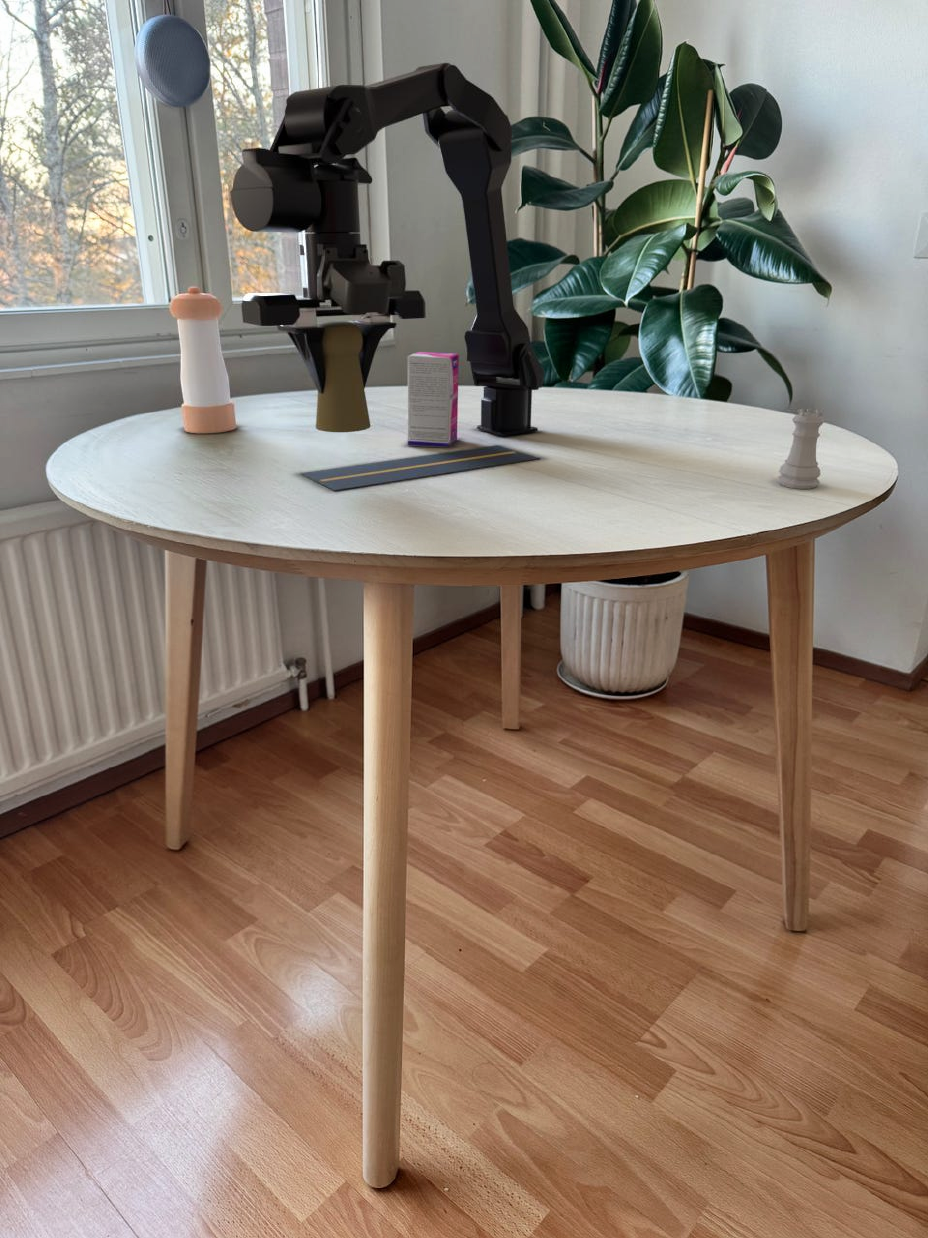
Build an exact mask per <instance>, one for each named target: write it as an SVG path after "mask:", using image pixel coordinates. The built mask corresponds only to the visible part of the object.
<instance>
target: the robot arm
mask: <svg viewBox="0 0 928 1238" xmlns="http://www.w3.org/2000/svg"><path fill="white" fill-rule="evenodd" d="M285 103H286V105H285V109H284V116H283V118H282V120H281V122H280V124H279V127H278V129H277V132H276V134H275V136H274V138H273V141H272V143H271V145H270V148H263V147H251V148H243V149H242V151H241V156H242V157H241V158H242V164H241V165H240V167H239V168H238V169H237V170H236V173H235V174H234V177H233V181H232V188H231V190H230V191H229V192H230V193H229V194H230V202H231V207H232V210H233V213H234V216H235V217H236V219H237V221H238V222H239V224H240V225H241V226H242V228H244V229H245V230H246V231H250V232H253V233H254V232H255V233H296V234H297V233H298V234H299V233H302V235H303V244H299V256H304V261H305V274H306V275H305V276H306V287H304V286H303V287H302V297H303V298H297V296H296V294H294V293H283V292H264V293H263V292H262V293H246V294H245V296H244V297H243V299H242V301H241V305H240V308H241V317H242V323H243V324H248V325H254V326H259V327H276V328H277V331H281V332H286V334H287V335H288V337H289V339H290V340H291V342H292V344H293V345H294V347H295V349H296V350H297V352H298V353H299V355H300V357H301V359H302V361H303V364H304V365H305V368H306V369H307V371H308V373H309V376H310V377H311V380H312V382H313V384H314V386H315V388H316V390H317V393H318V392H319V393H322V394H323V392H324V387H325V381H326V377H325V368H324V360H323V351H322V338H323V334H324V330H325V327H319V326H318V320H317V319H318V318H319V317H320V318H321V317H340V316H341V317H342V316H355V320H348V322H350V323H354V324H356V325H357V326H358V327H359V328H360V330H361V332H362V336H363V344H362V349H361V350H360V352H359V354H358V356H359V362H360V368H361V373H362V379H363V385H364V389H365V388H366V385H367V382H368V378H369V374H370V371H371V368H372V365H373V361H374V357H375V354H376V351H377V349H378V347H379V345H380V341H381V339H383V337H384V336H385V335H386V333H388V331H389V330H391V329H396V327H397V325H398V324H397V322H393V321H391V316H397V317H398V318H399V319H400V320H414V319H415V320H416V319H425V318H426V317H427V315H426V301H425V298H424V296H423V295H422V293H421V291H420V290H417V289H406V288H407V287H406V286H407V277H406V267H405V266H406V265H405V264H403V262H401V261H400V260H383V261H381V263H380V264H378V265H375V264H372V263H371V261H370V259H369V258H370V257H369V249H368V244H367V243H362V242H361V221H360V220H361V219H360V202H359V201H360V199H359V186H360V185H371V184H372V183H373V177H372V175H371V174H370V173H369V172H368V170H366V169H365V168H364V167H363V166H362V165H361V163H360V161H359V160H358V158H357V157H346V156H349V155H356V154H358V153H359V152H361V151H362V150H363V149H365V148H366V147H367V146H369V145H370V144H372V143H373V142H374V141H375V140H376V137H377V135H378V133H379V132H380V131H381V130H383V129H384V128H386V127H390V126H392V125H395V124H397V123H400V122H403V121H406V120H408V119H411V118H414V117H417V116H419V115H422V120H423V126H424V127H423V128H424V132H425V134H426V135H427V136H428V137H429V138H430V139H431V141H432V142H433V143H434V144H435V145H436V146H437V148H438V149H439V151H440V156H441V160H442V165H443V168H444V171H445V174H446V176H447V177H448V178H449V180H450V181H451V183H452V184H453V186H454V187H455V188H456V189H457V192H458V193H459V195H460V198H461V204H462V205H461V206H462V211H463V212H462V213H463V218H464V219H463V220H464V227H465V234H466V242H467V250H468V257H469V263H470V271H471V272H470V273H471V280H472V288H473V294H474V303H475V309H476V310H475V311H476V316H475V318H474V320H473V324H471V327H470V329H468V330H466V331H465V332H464V337H463V338H464V342H465V346H466V362H469V366H470V370H471V375H472V376H471V377H472V380H473V385H474V386H475V387H483V397H481V400H480V409H481V410H480V424H479V425H476V430H479V431H483V432H485V433H486V432H487V433H489V434H493V435H495V436H501V437H505V436H506V437H507V436H512V435H519V434H520V435H521V434H527V433H536V432H538V430H539V429H538V427H536V426H532V402H533V400H532V399H533V391H538V390H539V389H540V388H542V387H543V383H544V377H545V370H544V368H543V366H542V365H541V362H540V360H539V359H538V357H537V355H536V353H535V351H534V349H533V346H532V342H531V336H530V331H529V327H528V325H527V324H526V323H525V322H524V320H523V318H522V317H521V316H520V314H519V313H518V311H517V310H516V308H515V305H514V295H513V285H512V278H511V276H512V275H511V269H510V268H511V267H510V259H509V250H508V237H507V231H506V220H505V210H504V202H503V191H502V189H503V185H504V182H505V179H506V177H507V174H508V172H509V169H510V167H511V164H512V137H513V130H512V125H511V122H510V120H509V119H510V118H509V116H508V115H507V114H506V113H505V112H504V110H503V109H502V107H501V106H500V105H499V103H498V102H497V101H496V100H495V98H494V97H493V96H492V95H491V94H490V93H488V92H487V91H485V90H484V89H482V88H480V87H479V86H477V85H476V84H474V83H472V82H471V81H470V80H468V79H467V78H466V77H465V75H464V74H463V72H462V71H461V70H460V69H459V68H458V66H457V65H455V64H451V63H449V62H442V63H441V62H440V63H435V64H429V65H421V66H418V67H417V68H416V69H415V70H413V71H411V72H407V73H403V74H400V75H397V76H394V77H391V78H388V79H384V80H381V81H378V82H374V83H371V84H368V85H363V84H362V85H361V84H339V85H332V86H326V87H325V86H324V87H319V88H312V89H304V90H297V91H294V92H293V93H291V94H290V95H288V97H287V98H286V100H285ZM446 107H451V109H450V110H449V111H447V112H445V111H444V109H442V108H446ZM345 157H346V158H345ZM326 301H330V302H329V303H330V304H324V303H326Z"/></svg>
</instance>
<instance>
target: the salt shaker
mask: <svg viewBox="0 0 928 1238" xmlns="http://www.w3.org/2000/svg"><path fill="white" fill-rule="evenodd" d="M187 292H188V293H179V294H177V295H175V296H174V297H172V298H171V300H170V303H169V312H170V314H171V316H172V317H173V318H175V319H177V320H176V323H177V331H178V339H179V346H180V347H179V348H180V372H179V373H180V377H179V380H180V386H181V387H180V388H181V393H182V399H183V400H182V401H183V403H182V404H181V414H182V420H183V421H182V422H183V427H184V431H185V432H187V433H192V434H217V433H225V432H230V431H233V430H235V429H237V420H236V412H235V404H234V402H233V401H231V388H230V377H229V374H228V370H227V367H226V362H225V359H224V356H223V352H222V351H223V350H222V344H221V336H220V335H221V334H220V326H219V320H218V318H220V317H221V316H222V313H223V310H224V309H223V305H222V303H221V301H220V300H219V299H218V297H217V296H215V295H213V294H211V293H203V292H201V289H200V287H198V286H189V287H188V288H187Z"/></svg>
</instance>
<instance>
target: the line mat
mask: <svg viewBox="0 0 928 1238" xmlns="http://www.w3.org/2000/svg"><path fill="white" fill-rule="evenodd" d="M540 459H541V457H537V456H535V455H531V454H529V453H525V452H522V451H519V450H515V449H512V448H508V447H505V446H501V445H499V444H498V445H491V446H490V445H489V446H484V447H475V448H469V449H462V450H455V451H448V452H440V453H434V454H427V455H419V456H412V457H407V458H398V459H390V460H385V461H378V462H371V463H363V464H356V465H350V466H342V467H336V468H329V469H321V470H315V471H308V472H300V475H302V476H303V477H305V478H308V480H311V481H313V482H316V483H317V484H319V485H321V486H323V487H325V488H327V489H329V490H331V491H333V492H338V491H344V490H345V491H346V490H350V489H351V490H352V489H357V488H364V487H371V486H377V485H383V484H388V483H389V484H390V483H394V482H395V483H396V482H402V481H408V480H415V479H421V478H426V477H434V476H439V475H446V474H452V473H458V472H460V473H461V472H465V471H471V470H478V469H484V468H491V467H498V466H504V465H509V464H516V463H523V462H529V461H535V460H540Z"/></svg>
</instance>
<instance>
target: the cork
mask: <svg viewBox="0 0 928 1238" xmlns="http://www.w3.org/2000/svg"><path fill="white" fill-rule="evenodd" d="M317 326H319V327H325V330H324V334H323V338H322V351H323V360H324V368H325V377H326V381H325V387H324V392H323V394H322V393H319V392H318V391H317V398H316V415H315V417H316V418H315V429H316V430H318V431H321V432H326V433H352V432H353V433H354V432H361V431H365V430H369V429H370V428H371V427H372V426H371V419H370V414H369V408H368V402H367V397H366V396H367V395H366V391H365V388H364V385H363V379H362V373H361V368H360V362H359V356H358V354H359V352H360V350H361V349H362V344H363V336H362V332H361V330H360V328H359V327H358V326H357V325H356V324H354V323H350V322H349V321H343V320H330V321H325V322H323V323H319V324H317Z"/></svg>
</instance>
